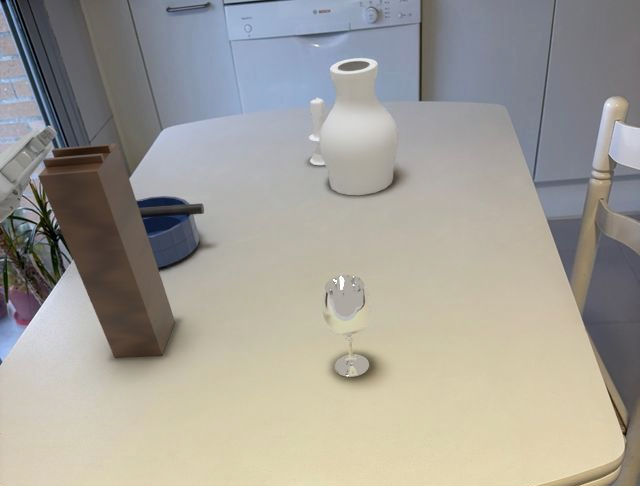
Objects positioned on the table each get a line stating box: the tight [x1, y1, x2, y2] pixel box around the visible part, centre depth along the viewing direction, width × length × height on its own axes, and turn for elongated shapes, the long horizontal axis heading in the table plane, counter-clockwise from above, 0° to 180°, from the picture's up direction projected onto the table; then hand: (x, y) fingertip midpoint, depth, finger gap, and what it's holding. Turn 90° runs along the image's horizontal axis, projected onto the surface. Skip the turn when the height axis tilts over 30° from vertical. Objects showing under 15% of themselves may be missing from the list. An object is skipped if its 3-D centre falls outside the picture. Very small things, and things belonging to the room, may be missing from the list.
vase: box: [319, 57, 399, 196], centre depth 115 cm, size 14×14×20 cm
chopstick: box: [139, 203, 205, 218], centre depth 107 cm, size 20×2×2 cm, turn 86°
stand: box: [37, 142, 176, 358], centre depth 84 cm, size 7×8×27 cm
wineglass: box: [322, 274, 372, 378], centre depth 79 cm, size 6×6×12 cm
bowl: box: [136, 195, 201, 268], centre depth 110 cm, size 15×15×6 cm
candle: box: [308, 97, 327, 166], centre depth 127 cm, size 5×5×12 cm
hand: (41, 142), depth 100 cm, fingers open, 8 cm apart
